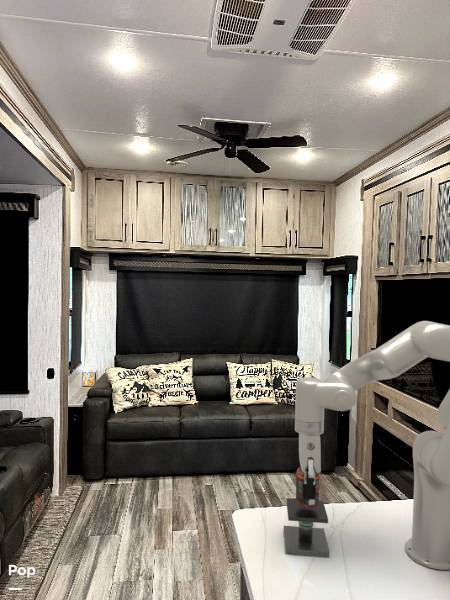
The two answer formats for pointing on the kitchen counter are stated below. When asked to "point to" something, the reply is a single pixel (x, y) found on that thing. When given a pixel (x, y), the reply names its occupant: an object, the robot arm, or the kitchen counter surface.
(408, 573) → the kitchen counter surface
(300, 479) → the supplement bottle
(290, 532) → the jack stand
